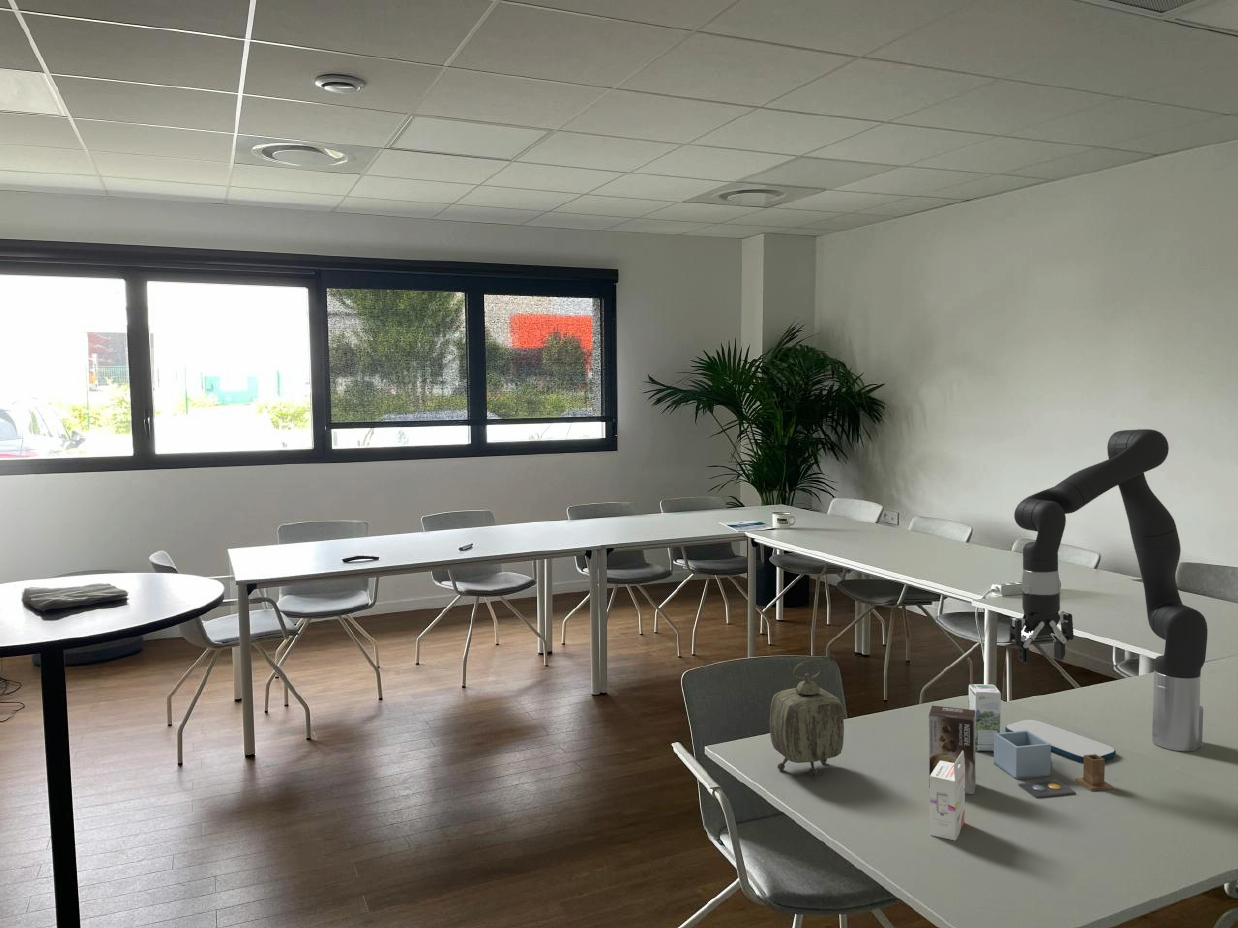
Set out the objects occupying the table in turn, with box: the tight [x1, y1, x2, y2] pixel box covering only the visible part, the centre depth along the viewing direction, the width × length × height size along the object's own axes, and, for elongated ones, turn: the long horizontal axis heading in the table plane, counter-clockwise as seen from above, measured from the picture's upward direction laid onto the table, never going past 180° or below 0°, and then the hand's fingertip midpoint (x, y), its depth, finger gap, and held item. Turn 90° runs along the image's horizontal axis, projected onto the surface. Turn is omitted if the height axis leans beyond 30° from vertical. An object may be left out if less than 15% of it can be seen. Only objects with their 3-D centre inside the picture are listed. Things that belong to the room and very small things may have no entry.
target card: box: [1018, 779, 1077, 799], centre depth 186 cm, size 9×6×1 cm, turn 100°
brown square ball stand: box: [1074, 754, 1114, 792], centre depth 187 cm, size 5×5×6 cm
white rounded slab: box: [1004, 719, 1117, 765], centre depth 209 cm, size 24×12×2 cm, turn 28°
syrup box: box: [967, 683, 1002, 753], centre depth 208 cm, size 6×6×14 cm
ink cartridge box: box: [929, 751, 966, 841], centre depth 169 cm, size 9×5×15 cm, turn 148°
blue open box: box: [993, 731, 1052, 780], centre depth 195 cm, size 8×8×7 cm
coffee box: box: [928, 705, 977, 795], centre depth 188 cm, size 9×6×16 cm
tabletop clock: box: [769, 660, 845, 777], centre depth 196 cm, size 14×9×25 cm, turn 108°
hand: (1041, 661), depth 197 cm, fingers open, 8 cm apart
